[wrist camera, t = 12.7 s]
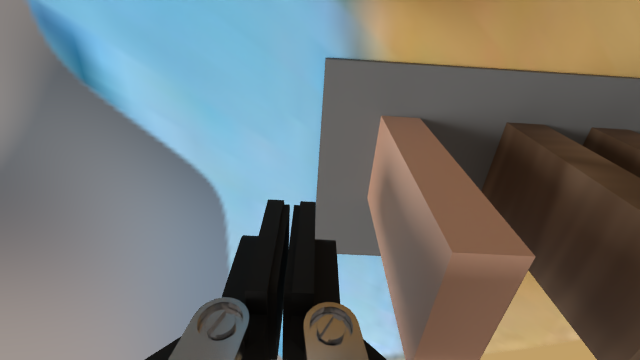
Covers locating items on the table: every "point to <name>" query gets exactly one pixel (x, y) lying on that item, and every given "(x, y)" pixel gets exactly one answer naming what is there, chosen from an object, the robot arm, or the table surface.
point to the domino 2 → (574, 231)
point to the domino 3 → (616, 147)
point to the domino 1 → (440, 246)
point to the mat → (444, 124)
